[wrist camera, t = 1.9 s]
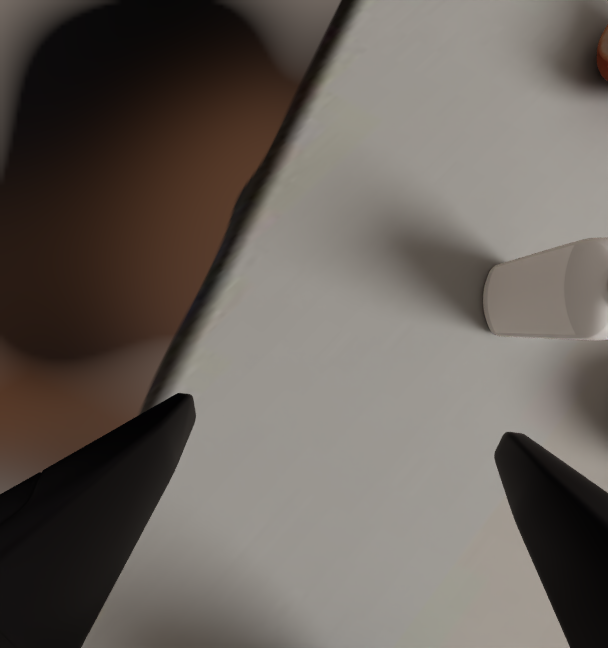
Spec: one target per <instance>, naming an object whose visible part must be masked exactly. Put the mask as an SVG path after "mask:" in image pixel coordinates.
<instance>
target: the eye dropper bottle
mask: <svg viewBox="0 0 608 648" xmlns="http://www.w3.org/2000/svg"><path fill="white" fill-rule="evenodd" d="M483 308H484V314H485V318H486V321H487V324H488V326H489V328H490V330H491V332H492V333H493V334H495V335H497V336H503V337H523V338H545V339H568V340H608V238H588V239H583V240H579V241H576V242H572V243H569V244H565V245H562V246H558V247H555V248H552V249H548V250H545V251H542V252H538V253H535V254H532V255H528V256H525V257H522V258H518V259H515V260H512V261H508V262H505V263H502V264H499V265H496V266H494V267H493V268H492V269H491V270H490V272H489V274H488V277H487V279H486V283H485V286H484V292H483Z"/></svg>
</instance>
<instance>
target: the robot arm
mask: <svg viewBox="0 0 608 648" xmlns="http://www.w3.org/2000/svg"><path fill="white" fill-rule="evenodd" d="M195 419H196V413H195V407H194V400H193V397H192V395H190V394H183V393H178V394H175V395H174V396H172V397H170V398H168V399H167V400H165V401H163V402H161V403H160V404H158V405H156V406H154V407H153V408H151V409H149V410H147V411H146V412H144V413H142V414H140V415H139V416H137V417H135V418H133V419H132V420H130V421H128V422H126V423H125V424H123V425H121V426H120V427H118V428H116V429H115V430H113V431H111V432H109V433H107V434H106V435H104V436H102V437H100V438H99V439H97V440H95V441H93V442H92V443H90V444H88V445H86V446H85V447H83V448H81V449H79V450H78V451H76V452H74V453H72V454H71V455H69V456H67V457H65V458H64V459H62V460H60V461H58V462H57V463H55V464H53V465H51V466H50V467H48V468H46V469H44V470H43V471H42V473H37V474H36V475H34V476H32V477H30V478H29V479H27V480H25V481H23V482H22V483H20V484H18V485H16V486H14V487H13V488H11V489H9V490H7V491H5V492H4V493H2V494H0V648H81V647H82V645H83V643H84V641H85V639H86V637H87V635H88V634H89V632H90V630H91V628H92V626H93V624H94V622H95V620H96V619H97V617H98V615H99V613H100V611H101V609H102V607H103V605H104V603H105V602H106V600H107V598H108V596H109V594H110V592H111V590H112V588H113V587H114V585H115V583H116V581H117V579H118V577H119V575H120V573H121V572H122V570H123V568H124V566H125V564H126V562H127V560H128V558H129V556H130V555H131V553H132V551H133V549H134V547H135V545H136V543H137V541H138V540H139V538H140V536H141V534H142V532H143V530H144V528H145V526H146V524H147V523H148V521H149V519H150V517H151V515H152V513H153V511H154V509H155V508H156V506H157V504H158V502H159V500H160V498H161V496H162V494H163V493H164V491H165V489H166V487H167V485H168V483H169V481H170V479H171V477H172V475H173V473H174V471H175V469H176V467H177V464H178V462H179V460H180V457H181V455H182V452H183V450H184V447H185V445H186V443H187V440H188V438H189V435H190V433H191V430H192V428H193V425H194V423H195ZM494 458H495V463H496V466H497V469H498V472H499V475H500V478H501V481H502V484H503V487H504V490H505V493H506V496H507V499H508V502H509V505H510V508H511V511H512V514H513V516H514V519H515V522H516V524H517V527H518V529H519V531H520V534H521V536H522V538H523V541H524V543H525V545H526V547H527V550H528V552H529V554H530V557H531V559H532V561H533V563H534V566H535V568H536V570H537V573H538V575H539V577H540V580H541V582H542V584H543V586H544V589H545V591H546V593H547V596H548V598H549V600H550V603H551V605H552V607H553V609H554V612H555V614H556V616H557V619H558V621H559V623H560V625H561V628H562V630H563V632H564V635H565V637H566V639H567V642H568V644H569V646H570V648H608V493H607V492H606V491H604V490H603V489H601V488H600V487H598V486H597V485H596V484H594V483H593V482H591V481H590V480H588V479H587V478H586V477H584V476H583V475H581V474H580V473H579V472H577V471H576V470H574V469H573V468H571V467H570V466H569V465H567V464H566V463H564V462H563V461H561V460H560V459H559V458H557V457H556V456H554V455H553V454H551V453H550V452H549V451H547V450H546V449H544V448H543V447H542V446H540V445H539V444H537V443H536V442H534V441H533V440H532V439H530V438H529V437H527V436H526V435H524V434H521V433H514V432H506V433H505V434H504V435H503V436H502V438H501V441H500V443H499V445H498V447H497V449H496V451H495V455H494Z"/></svg>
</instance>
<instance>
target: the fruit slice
mask: <svg viewBox="0 0 608 648" xmlns="http://www.w3.org/2000/svg"><path fill="white" fill-rule="evenodd" d="M597 66H598V69H599V71H600V74H601V75H602V77H603V78H604V79H606V80H607V81H608V25H607V26H606V28H605V30H604V32H603V33H602V35H601V37H600V40H599V43H598V47H597Z"/></svg>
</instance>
